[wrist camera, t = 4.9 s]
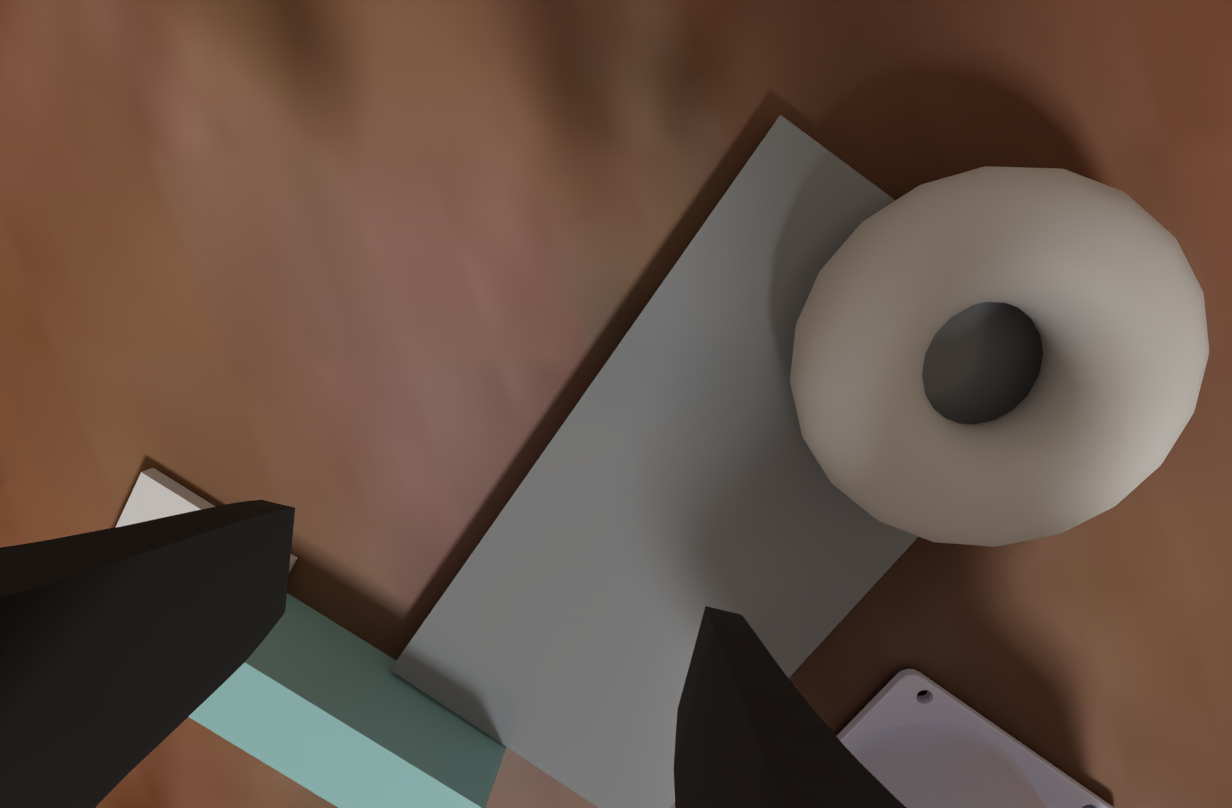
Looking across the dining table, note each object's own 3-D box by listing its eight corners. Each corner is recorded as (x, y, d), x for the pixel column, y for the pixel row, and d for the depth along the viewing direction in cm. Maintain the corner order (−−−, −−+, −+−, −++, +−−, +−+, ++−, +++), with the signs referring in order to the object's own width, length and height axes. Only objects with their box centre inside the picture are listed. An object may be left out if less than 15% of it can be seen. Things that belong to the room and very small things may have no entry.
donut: (973, 64, 14) (1351, 297, 14) (911, 102, 17) (1219, 289, 17) (725, 448, 16) (1057, 636, 16) (715, 414, 19) (991, 572, 20)
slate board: (1075, 343, 19) (1092, 347, 18) (643, 818, 24) (642, 836, 23) (775, 120, 18) (780, 114, 17) (399, 656, 23) (389, 669, 22)
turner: (532, 702, 23) (508, 777, 20) (454, 809, 25) (418, 897, 21) (155, 466, 23) (62, 502, 19) (96, 591, 24) (0, 645, 21)
